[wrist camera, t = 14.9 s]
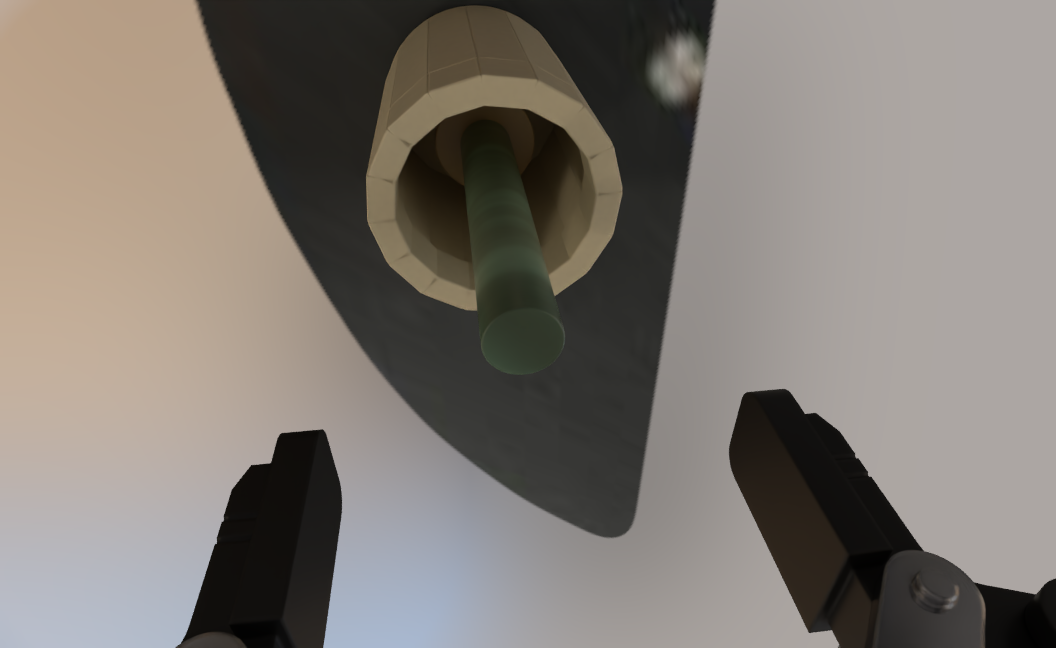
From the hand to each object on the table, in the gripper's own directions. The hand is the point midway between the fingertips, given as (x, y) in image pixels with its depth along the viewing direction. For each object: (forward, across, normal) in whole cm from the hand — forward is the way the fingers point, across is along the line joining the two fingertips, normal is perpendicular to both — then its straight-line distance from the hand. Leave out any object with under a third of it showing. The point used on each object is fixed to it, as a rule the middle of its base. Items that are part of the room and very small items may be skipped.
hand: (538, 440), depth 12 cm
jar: (+21, 0, 0) cm, 21 cm away
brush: (+21, 0, 0) cm, 21 cm away
